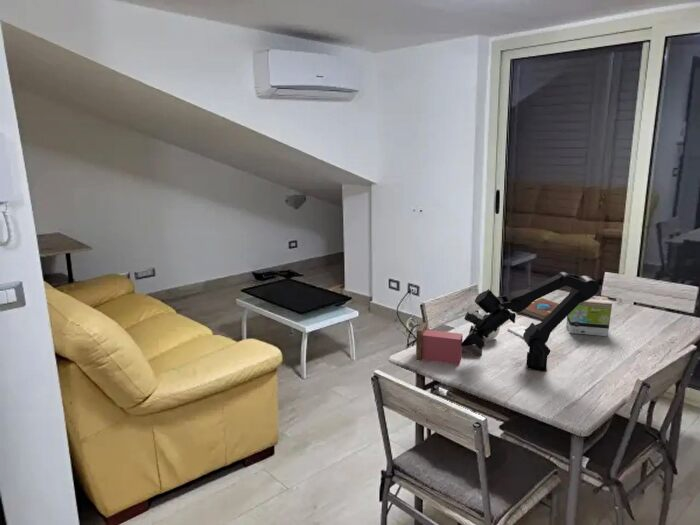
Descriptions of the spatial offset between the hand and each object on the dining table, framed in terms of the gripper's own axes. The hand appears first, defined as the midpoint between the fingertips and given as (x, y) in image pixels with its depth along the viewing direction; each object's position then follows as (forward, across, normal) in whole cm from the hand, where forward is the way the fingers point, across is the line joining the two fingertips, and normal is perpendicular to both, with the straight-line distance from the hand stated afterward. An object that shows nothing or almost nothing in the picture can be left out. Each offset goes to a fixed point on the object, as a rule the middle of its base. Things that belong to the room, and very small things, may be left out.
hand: (461, 345), depth 191 cm
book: (-16, -69, +26) cm, 75 cm away
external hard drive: (-10, -36, +21) cm, 43 cm away
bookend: (+8, -2, +1) cm, 9 cm away
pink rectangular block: (+10, 0, 0) cm, 10 cm away
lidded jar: (0, -26, +10) cm, 28 cm away
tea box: (-28, -47, +38) cm, 67 cm away
